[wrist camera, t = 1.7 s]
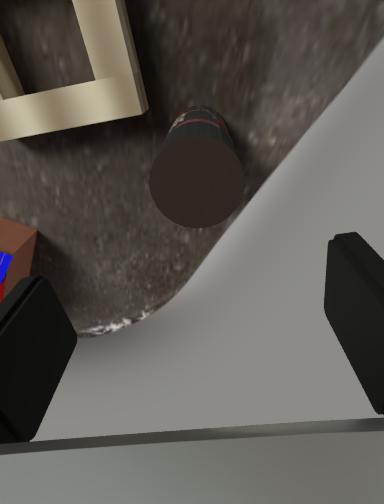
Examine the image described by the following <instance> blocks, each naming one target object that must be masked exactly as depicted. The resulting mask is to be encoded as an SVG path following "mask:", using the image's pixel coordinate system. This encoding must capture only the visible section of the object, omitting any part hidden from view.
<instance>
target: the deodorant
mask: <svg viewBox="0 0 384 504" xmlns="http://www.w3.org/2000/svg"><path fill="white" fill-rule="evenodd" d="M149 186H150V191H151V196H152V198H153V200H154V202H155V204H156V206H157V208H158V209H159V210H160V211H161V212H162V213H163V215H164V216H166V217H167V218H168V219H170V220H171V221H173V222H174V223H177V224H179V225H182V226H184V227H191V228H205V227H210V226H213V225H216V224H219V223H220V222H222V221H223V220H225V219H227V218H228V217H229V216H230V215H231V214H232V213H233V212H234V211H235V210H236V209H237V207H238V205H239V203H240V201H241V200H242V197H243V193H244V189H245V174H244V171H243V168H242V164H241V162H240V159H239V157H238V154H237V152H236V149H235V147H234V144H233V142H232V139H231V137H230V134H229V132H228V129H227V127H226V124H225V122H224V121H223V119H222V117H221V116H220V115H219V114H218V113H217V112H216V111H215V110H213V109H211V108H209V107H205V106H193V107H190V108H188V109H185V110H184V111H183V112H181V113H180V114H179V115H178V116H177V118H176V119H175V121H174V123H173V125H172V126H171V128H170V130H169V132H168V134H167V136H166V138H165V140H164V142H163V144H162V146H161V148H160V150H159V152H158V154H157V156H156V158H155V160H154V163H153V166H152V168H151V171H150V181H149Z"/></svg>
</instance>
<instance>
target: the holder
mask: <svg viewBox="0 0 384 504" xmlns="http://www.w3.org/2000/svg"><path fill="white" fill-rule="evenodd" d="M72 2H73V5H74V8H75V12H76V15H77V18H78V22H79V25H80V29H81V32H82V35H83V39H84V42H85V45H86V49H87V52H88V55H89V59H90V62H91V66H92V69H93V72H94V76H95V79H96V81H91V82H86V83H82V84H77V85H72V86H67V87H62V88H58V89H53V90H48V91H43V92H38V93H34V94H29V95H25V93H24V90H23V88H22V86H21V83H20V81H19V78H18V76H17V74H16V71H15V69H14V66H13V64H12V61H11V59H10V57H9V54H8V52H7V49H6V47H5V44H4V42H3V40H2V37H1V35H0V141H5V140H10V139H16V138H21V137H26V136H31V135H36V134H42V133H47V132H52V131H57V130H62V129H68V128H73V127H78V126H83V125H89V124H94V123H99V122H104V121H109V120H115V119H120V118H125V117H130V116H136V115H141V114H143V113H144V112H146V111H147V110H148V109H149V107H148V102H147V98H146V93H145V89H144V85H143V80H142V76H141V71H140V67H139V63H138V58H137V54H136V49H135V45H134V41H133V36H132V32H131V27H130V23H129V19H128V14H127V10H126V5H125V1H124V0H72Z"/></svg>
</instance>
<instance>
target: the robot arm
mask: <svg viewBox="0 0 384 504" xmlns="http://www.w3.org/2000/svg"><path fill="white" fill-rule="evenodd" d="M324 310H325V314H326V317H327V319H328V321H329V323H330V325H331V326H332V328H333V330H334V332H335V334H336V336H337V338H338V340H339V342H340V344H341V346H342V348H343V350H344V352H345V354H346V356H347V358H348V360H349V361H350V364H351V366H352V368H353V370H354V371H355V373H356V375H357V377H358V379H359V381H360V383H361V385H362V387H363V389H364V391H365V393H366V395H367V397H368V399H369V401H370V402H371V405H372V406H373V408H374V410H375V412H376V413H378V414H383V415H384V260H383V259H382V258H381V257H380V256H379V255H378V254H377V253H376V252H375V250H373V248H372V247H371V246H370V245H369V244H367V242H366V241H365V240H364V239H363V238H362V237H361V236H360V235H359V234H358V233H357V232H350V233H343V234H337V235H335V236H334V239H333V240H329V242H328V252H327V266H326V281H325V298H324ZM76 344H77V334H76V332H75V330H74V328H73V326H72V324H71V322H70V320H69V318H68V316H67V314H66V312H65V311H64V309H63V307H62V305H61V303H60V301H59V299H58V297H57V295H56V293H55V291H54V289H53V287H52V286H51V284H50V282H49V280H47V279H44V277H42V276H40V275H38V276H31V277H24V278H22V279H20V280H19V282H18V283H17V284H16V285H15V286H14V288H13V289H12V290H11V291H10V292H9V293H8V295H7V296H6V297H5V298H4V299H3V300H2V302H1V303H0V504H384V418H368V419H349V420H331V421H311V422H310V421H309V422H295V423H280V424H265V425H250V426H236V427H221V428H208V429H194V430H193V429H192V430H180V431H165V432H151V433H138V434H125V435H111V436H99V437H85V438H71V439H59V440H48V441H35V442H29V441H30V440H32V439H33V438H34V437H35V435H36V433H37V431H38V429H39V426H40V424H41V422H42V420H43V417H44V415H45V413H46V410H47V409H48V406H49V404H50V402H51V400H52V397H53V395H54V393H55V390H56V388H57V386H58V384H59V382H60V379H61V377H62V375H63V373H64V371H65V368H66V366H67V364H68V362H69V359H70V357H71V355H72V353H73V351H74V348H75V346H76Z"/></svg>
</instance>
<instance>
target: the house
mask: <svg viewBox="0 0 384 504" xmlns="http://www.w3.org/2000/svg"><path fill="white" fill-rule="evenodd" d="M36 235H37V230H36V229H34V228H31V227H28V226H25V225H23V224H20V223H17V222H14V221H11V220H9V219H6V218H3V217H0V303H1V302H2V300H3V299H4V298H5V297H6V296H7V295H8V293H9V292H10V291H11V290H12V289H13V288H14V286H15V285H16V284H17V283H18V282H19V280H20V279H22V278H24V277H29V275H30V269H31V263H32V258H33V252H34V246H35V240H36Z"/></svg>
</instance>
